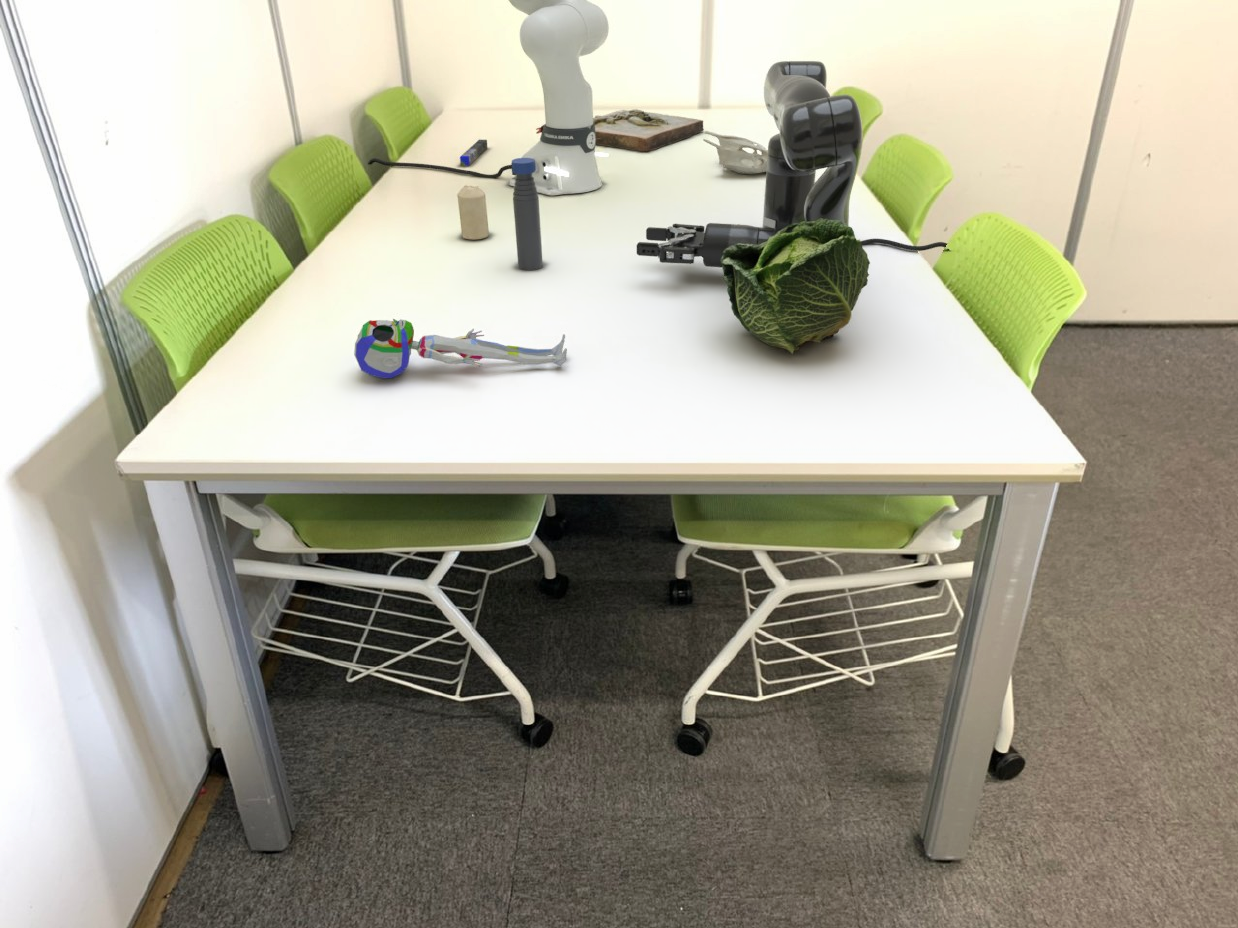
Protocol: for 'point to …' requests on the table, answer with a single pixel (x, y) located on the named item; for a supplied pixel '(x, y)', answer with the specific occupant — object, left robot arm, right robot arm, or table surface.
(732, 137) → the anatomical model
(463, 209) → the candle
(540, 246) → the bottle
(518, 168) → the cap
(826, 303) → the vegetable
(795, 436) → the table surface
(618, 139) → the plaque
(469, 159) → the pillar
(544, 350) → the toy
